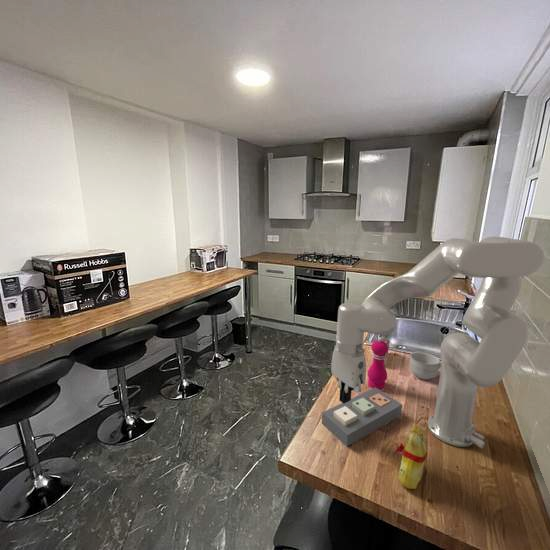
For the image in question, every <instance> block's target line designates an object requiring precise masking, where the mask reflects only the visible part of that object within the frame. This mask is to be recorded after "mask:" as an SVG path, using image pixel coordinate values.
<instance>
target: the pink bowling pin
mask: <svg viewBox="0 0 550 550" xmlns="http://www.w3.org/2000/svg"><path fill="white" fill-rule="evenodd" d="M383 339H384V338H383V337H380V336H379V337H378V338H377V339H376V340H374V341H373V342H372V344H371V346H370V348H371V351H372V352H371V354H372V355H371V356H372V358H373V359H372V363H371V365H370V366H369V368H368V370H367V372H366V376H367V377H368V380H367V384H368V386H369V388H371V389H373V388H375V387H376V388H377V389H379V390H380V391H382V390H384V389H385V388H386V381H387V379H388V372H387V369H386V367H385V360H386V359H387V355H386V353H387V352H389V350H388V345H387V344H386V343H385V342H384V341H383ZM387 354H388V353H387Z"/></svg>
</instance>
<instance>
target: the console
mask: <svg viewBox="0 0 550 550" xmlns="http://www.w3.org/2000/svg"><path fill="white" fill-rule="evenodd" d="M378 393H379V394H381V395H382V396H384V397H385V398H387V399H388V400H390V401H391V402H390V403H389V404H387V405H385V406H383V407H379V406H378V405H376V404H375V403H373V402H372V401H371V400H369V398H370V397H372V396H374V395H376V394H378ZM361 398H364V399H366V400H367V401H368V402H370V403H371V404H373V405H374V406H375V410H374V412H372V413H370V414H368V415H366V416H364V417H363V416H362V415H361V414H359V413H358V412H357V411H356V410H354V409H353V408H352V403H353V402H355V401H357V400H359V399H361ZM344 406H346V407H347V408H348V409H350V410H351V411H352V412H354V413H355V414H356V415H357V421H355V422H353V423H351V424H349V425H348V426H346V427H345V426H343V425H342V424H341V423H340V422H339V421H338V420H336V419H335V418H334V417H333V413H334V411H336V410H338V409H340V408H342V407H344ZM402 411H403V404H402V403H401V402H399V401H398V400H396V399H394V398H393V397H391V396H390V395H389V394H387V393H385V392H383V391H382V390H379V389H377V388H376V387H375V388H371V389H369V390H367V391H364V392H362V393H361V394H358V395H356V396H354V397H351V400H350V401H348V402H346V403H344V404H343V403H342V402H341V403H339V404H337V405H334V406H333V407H331V408H328V409H326V410H323V412H321V424H322V425H323V426H324V428H326V429H327V430H328V431H329V432H330V433H331V434H332V435H334V436H335V438H336V439H337V440H338V441H340V442H341V443H342V444H343V445H344V446H345V447H346V448H347V447H349V446H351V445H353V444H354V443H356V442H357V441H359V440H361V439H363V438H364V437H366V436H368V435H369V434H371V433H372V432H375V431H376V430H378V429H379V428H382V427H383V426H385V425H387V424H389V423H390V422H392V421H393V420H396V419H397V418H398V417H401V416H402Z"/></svg>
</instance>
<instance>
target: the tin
mask: <svg viewBox="0 0 550 550" xmlns="http://www.w3.org/2000/svg"><path fill="white" fill-rule="evenodd" d="M383 341H384V342H385V343H386V344H387V345H388V352H389V349H390V343H391V342H390V340H389V339H386V338H383ZM388 352H387V353H386V356H387V355H388V354H389V353H388Z"/></svg>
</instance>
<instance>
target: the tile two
mask: <svg viewBox="0 0 550 550" xmlns="http://www.w3.org/2000/svg"><path fill="white" fill-rule="evenodd" d="M352 408H353V409H354V410H356V411H357V412H358V413H359V414H361V415H362V416H363V417H364V416H366V415H368V414H370V413H372V412H374V410H375V406H374V405H373V404H371V403H370V402H368V401H367V400H366V399H364V398H361V399H359V400H357V401H355V402H353V403H352Z"/></svg>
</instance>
